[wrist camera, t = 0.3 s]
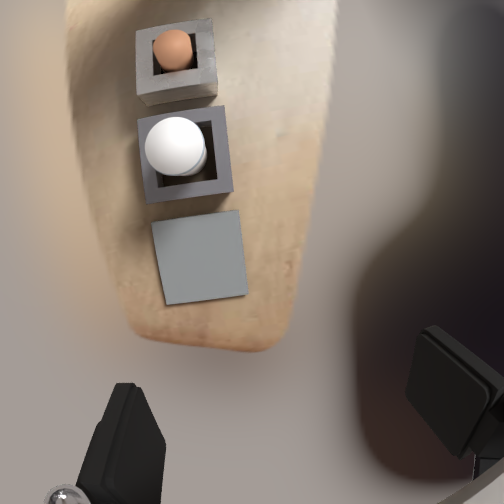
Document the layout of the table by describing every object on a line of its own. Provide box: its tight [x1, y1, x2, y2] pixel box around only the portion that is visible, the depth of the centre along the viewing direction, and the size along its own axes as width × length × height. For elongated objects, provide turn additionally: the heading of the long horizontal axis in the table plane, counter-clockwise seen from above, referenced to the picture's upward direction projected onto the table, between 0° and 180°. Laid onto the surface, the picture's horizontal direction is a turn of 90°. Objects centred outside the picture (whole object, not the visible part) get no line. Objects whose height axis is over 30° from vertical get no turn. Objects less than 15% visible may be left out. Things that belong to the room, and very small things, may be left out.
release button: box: [153, 30, 194, 73], centre depth 26 cm, size 4×4×5 cm
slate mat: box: [151, 210, 249, 305], centre depth 37 cm, size 11×11×1 cm
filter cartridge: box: [145, 117, 207, 176], centre depth 29 cm, size 5×5×12 cm
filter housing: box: [137, 105, 234, 204], centre depth 32 cm, size 10×10×4 cm
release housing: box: [136, 18, 218, 106], centre depth 29 cm, size 9×9×6 cm
